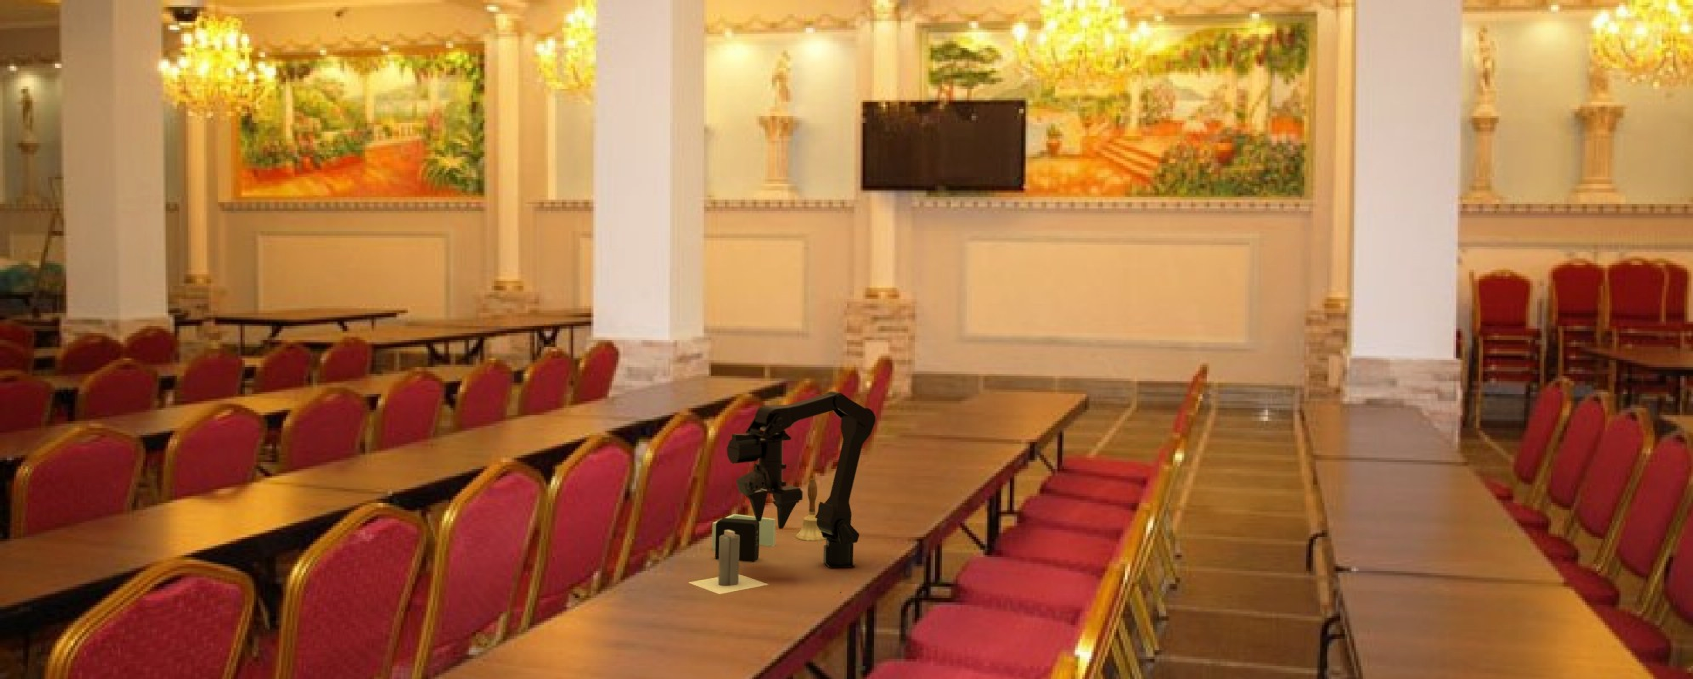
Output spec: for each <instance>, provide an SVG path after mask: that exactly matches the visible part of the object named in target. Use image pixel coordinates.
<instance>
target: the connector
mask: <svg viewBox="0 0 1693 679" xmlns="http://www.w3.org/2000/svg"><path fill="white" fill-rule="evenodd" d="M739 540H740V535H737V534H735V532H734V531H731V530H724V535H721V536H719V559H718V576H717V577H718V584H719V585H721V586H733V585H737V584H738V583H739V574H740V561H739Z"/></svg>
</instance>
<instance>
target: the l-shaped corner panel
mask: <svg viewBox="0 0 1693 679" xmlns="http://www.w3.org/2000/svg"><path fill="white" fill-rule="evenodd" d="M725 518H733V519H747V520H756V518H755V515H754V516H752V515H745V514H736V513H734V514H731V515H728V516H726V517H725ZM717 521H718V520H716V521H714V522H712V527H711V528H712V529H711V530H712V531H711V532H712V534H711V543H712V544H711V551H715V541H716V523H717ZM759 546H767V547H775V546H776V518H772V517H771V518H769V517H762V519H761V521H759Z"/></svg>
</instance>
